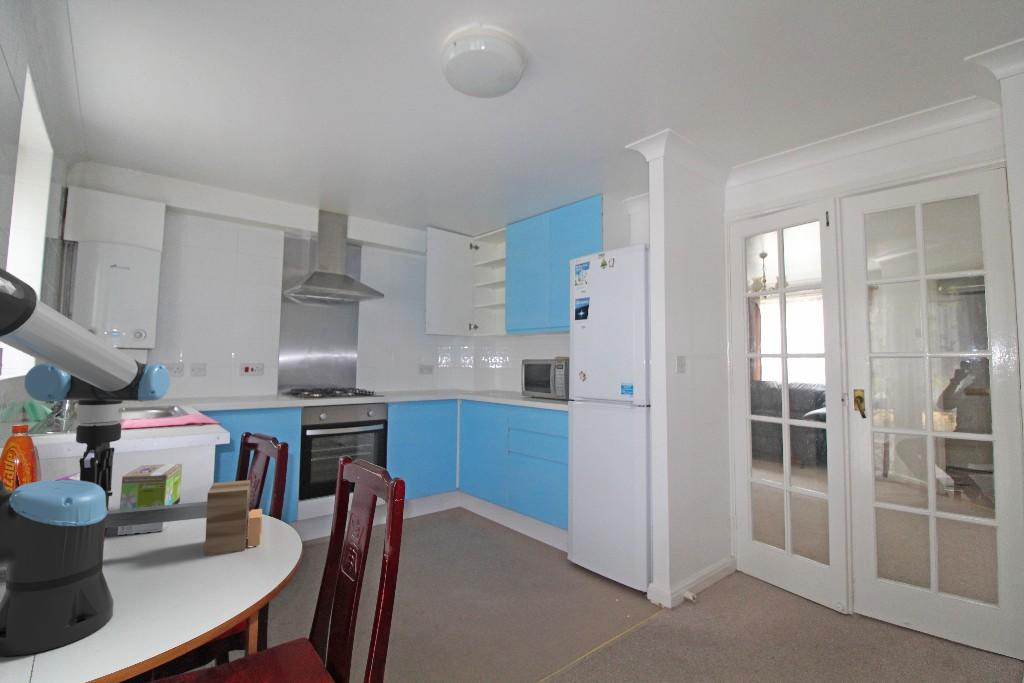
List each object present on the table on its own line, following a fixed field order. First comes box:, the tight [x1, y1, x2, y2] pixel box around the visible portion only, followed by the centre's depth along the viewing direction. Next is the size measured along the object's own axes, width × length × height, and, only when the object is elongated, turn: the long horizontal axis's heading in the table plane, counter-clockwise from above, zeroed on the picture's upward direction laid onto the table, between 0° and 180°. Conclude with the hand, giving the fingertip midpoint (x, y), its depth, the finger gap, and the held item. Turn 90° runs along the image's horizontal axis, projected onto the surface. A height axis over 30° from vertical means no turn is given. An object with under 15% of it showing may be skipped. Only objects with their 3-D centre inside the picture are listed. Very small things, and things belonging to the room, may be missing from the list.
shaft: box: [104, 489, 207, 529], centre depth 110 cm, size 4×24×8 cm, turn 115°
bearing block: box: [204, 479, 251, 557], centre depth 116 cm, size 10×8×14 cm
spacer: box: [247, 508, 263, 547], centre depth 119 cm, size 7×2×7 cm, turn 24°
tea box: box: [117, 463, 183, 536], centre depth 129 cm, size 15×10×15 cm
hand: (93, 531), depth 105 cm, fingers closed on shaft, 4 cm apart
